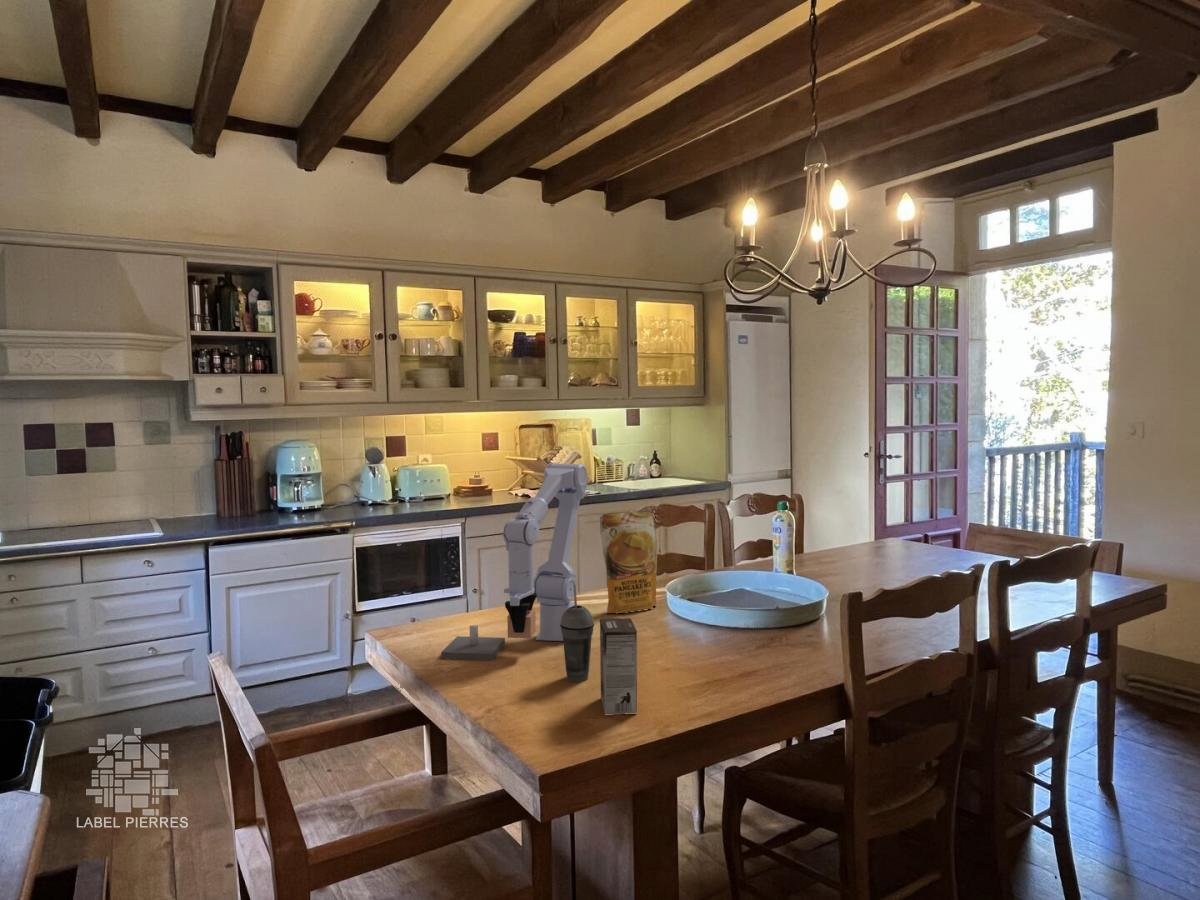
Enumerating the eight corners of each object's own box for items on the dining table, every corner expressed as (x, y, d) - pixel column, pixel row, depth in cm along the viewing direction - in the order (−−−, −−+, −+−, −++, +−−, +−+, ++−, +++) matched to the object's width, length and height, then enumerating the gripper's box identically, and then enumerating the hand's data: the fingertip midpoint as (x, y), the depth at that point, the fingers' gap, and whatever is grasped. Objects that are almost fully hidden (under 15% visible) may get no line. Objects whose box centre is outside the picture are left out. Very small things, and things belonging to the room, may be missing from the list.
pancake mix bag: (594, 611, 214) (594, 512, 212) (652, 602, 222) (652, 508, 221) (605, 617, 208) (605, 515, 206) (664, 608, 216) (665, 511, 215)
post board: (505, 643, 185) (504, 619, 184) (492, 660, 173) (492, 634, 172) (457, 642, 186) (456, 618, 186) (441, 658, 174) (441, 632, 174)
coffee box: (599, 697, 151) (599, 617, 150) (631, 696, 151) (631, 616, 150) (603, 716, 142) (603, 631, 141) (637, 715, 142) (637, 630, 141)
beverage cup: (569, 686, 157) (568, 591, 155) (554, 675, 163) (554, 583, 162) (600, 680, 160) (600, 587, 159) (585, 669, 166) (584, 580, 165)
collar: (535, 631, 178) (535, 610, 178) (530, 638, 173) (530, 616, 173) (513, 630, 179) (512, 609, 178) (507, 637, 173) (507, 616, 173)
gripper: (511, 563, 183) (512, 618, 183) (496, 577, 168) (497, 637, 169) (540, 564, 182) (540, 619, 183) (527, 578, 167) (528, 638, 168)
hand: (521, 628), depth 176 cm, fingers closed on collar, 5 cm apart
